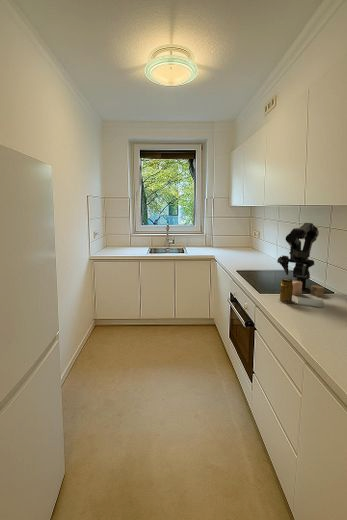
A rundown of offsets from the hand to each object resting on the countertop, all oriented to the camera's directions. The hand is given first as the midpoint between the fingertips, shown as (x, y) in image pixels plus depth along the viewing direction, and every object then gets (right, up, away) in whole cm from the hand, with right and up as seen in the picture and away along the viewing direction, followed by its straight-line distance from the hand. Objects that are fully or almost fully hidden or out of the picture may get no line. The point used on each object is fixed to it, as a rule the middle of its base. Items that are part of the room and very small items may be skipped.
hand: (295, 276), depth 168 cm
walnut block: (+15, -11, +8) cm, 20 cm away
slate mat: (+5, -14, -7) cm, 16 cm away
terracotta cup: (+4, -11, +10) cm, 15 cm away
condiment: (-6, -13, -4) cm, 15 cm away
